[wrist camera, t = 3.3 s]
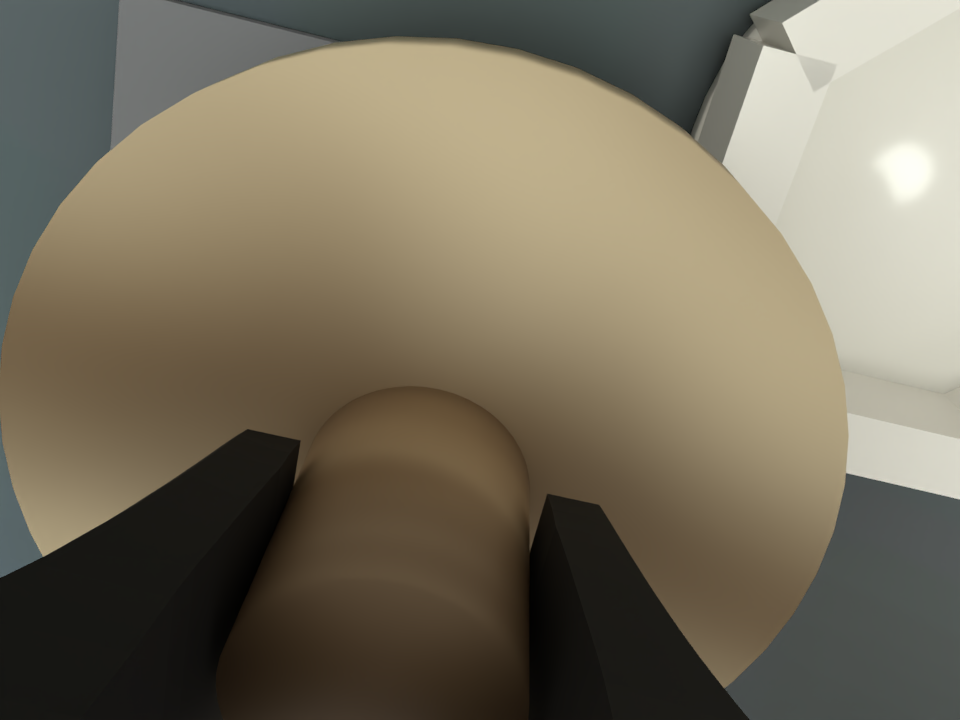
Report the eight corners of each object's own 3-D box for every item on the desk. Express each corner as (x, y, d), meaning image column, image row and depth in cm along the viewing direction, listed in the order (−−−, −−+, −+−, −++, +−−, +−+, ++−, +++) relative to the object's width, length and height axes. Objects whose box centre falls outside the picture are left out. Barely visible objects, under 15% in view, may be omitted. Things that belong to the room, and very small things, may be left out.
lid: (676, 783, 15) (733, 1113, 10) (35, 651, 14) (-168, 943, 10) (966, 159, 10) (1261, 307, 6) (44, -67, 10) (-312, -71, 6)
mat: (515, 532, 21) (515, 542, 21) (100, 439, 21) (92, 448, 21) (641, 116, 17) (644, 120, 17) (129, -12, 17) (120, -12, 16)
